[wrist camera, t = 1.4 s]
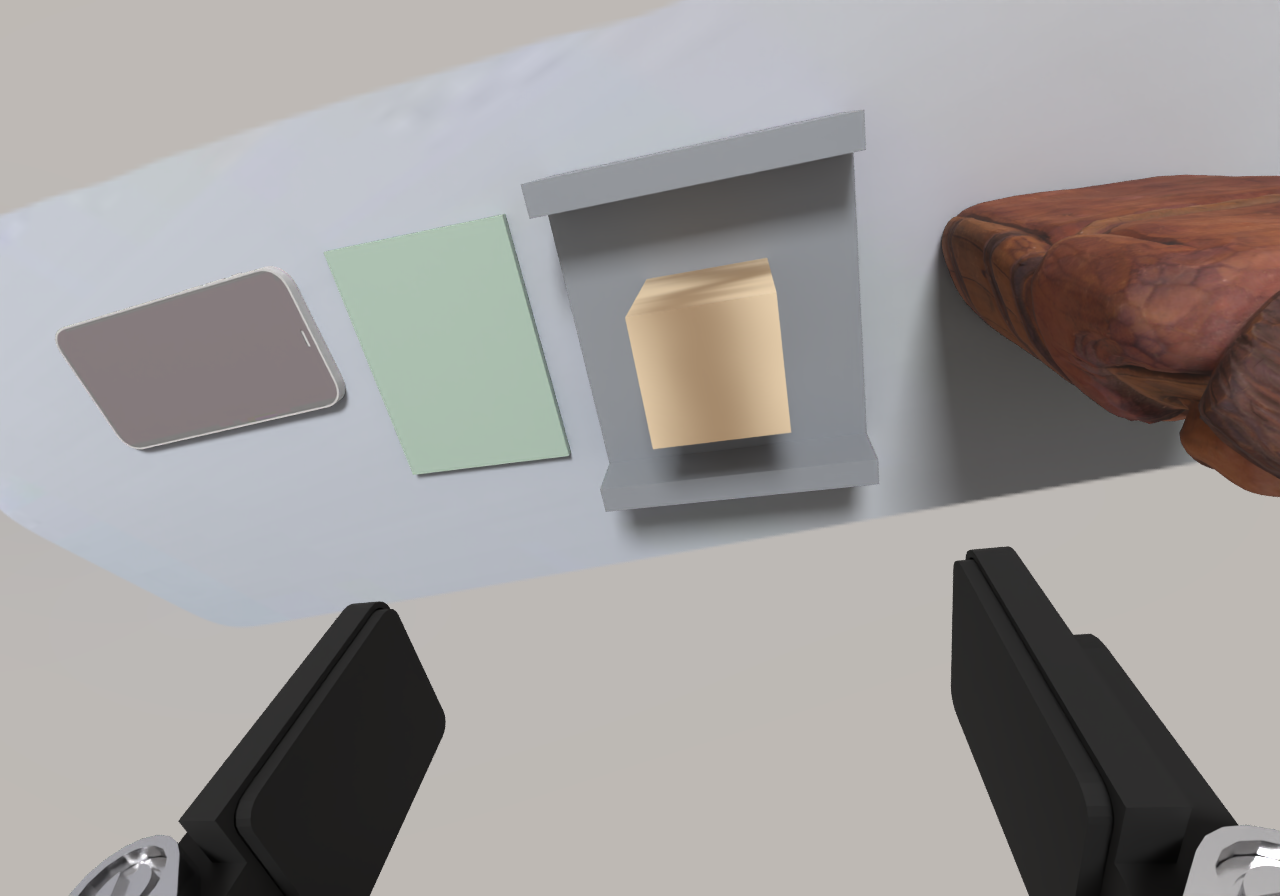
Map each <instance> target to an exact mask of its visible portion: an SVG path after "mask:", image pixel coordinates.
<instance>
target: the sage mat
mask: <svg viewBox="0 0 1280 896" xmlns="http://www.w3.org/2000/svg"><path fill="white" fill-rule="evenodd" d="M324 255H325V257H326V260H327V262H328V265H329V267H330V270H331V272H332V275H333V277H334V280H335V282H336V285H337V287H338V290H339V292H340V295H341V297H342V300H343V302H344V304H345V307H346V309H347V312H348V314H349V317H350V319H351V322H352V324H353V327H354V329H355V332H356V334H357V337H358V339H359V342H360V344H361V347H362V349H363V352H364V354H365V357H366V359H367V361H368V364H369V366H370V369H371V371H372V374H373V376H374V379H375V381H376V384H377V386H378V389H379V391H380V394H381V396H382V399H383V401H384V404H385V406H386V409H387V411H388V413H389V416H390V418H391V421H392V423H393V426H394V428H395V431H396V433H397V436H398V438H399V441H400V443H401V446H402V448H403V451H404V453H405V456H406V458H407V461H408V463H409V465H410V468H411V470H412V473H413V475H416V474H424V473H432V472H441V471H449V470H457V469H465V468H473V467H482V466H490V465H498V464H506V463H514V462H523V461H531V460H539V459H547V458H556V457H564V456H569V455H570V453H571V451H570V448H569V444H568V440H567V437H566V433H565V430H564V426H563V422H562V419H561V415H560V411H559V408H558V404H557V401H556V397H555V393H554V390H553V386H552V382H551V379H550V375H549V372H548V368H547V364H546V361H545V357H544V353H543V350H542V346H541V343H540V339H539V335H538V332H537V328H536V324H535V321H534V317H533V314H532V310H531V306H530V303H529V299H528V295H527V292H526V288H525V284H524V281H523V277H522V274H521V270H520V266H519V263H518V259H517V255H516V252H515V248H514V245H513V241H512V237H511V234H510V230H509V226H508V223H507V219H506V216H505V214H503V215H498V216H493V217H489V218H484V219H479V220H474V221H470V222H465V223H460V224H455V225H450V226H446V227H441V228H436V229H431V230H426V231H422V232H417V233H412V234H407V235H402V236H398V237H393V238H388V239H383V240H378V241H374V242H369V243H364V244H359V245H355V246H350V247H345V248H340V249H335V250H331V251H327V252H324Z"/></svg>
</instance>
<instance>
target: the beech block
mask: <svg viewBox="0 0 1280 896" xmlns="http://www.w3.org/2000/svg"><path fill="white" fill-rule="evenodd" d="M625 320H626V324H627V329H628V334H629V338H630V343H631V348H632V353H633V357H634V362H635V367H636V371H637V376H638V381H639V386H640V390H641V395H642V400H643V404H644V409H645V414H646V419H647V423H648V428H649V433H650V437H651V442H652V447H653V449H659V448H667V447H676V446H684V445H692V444H700V443H709V442H717V441H725V440H734V439H742V438H750V437H758V436H767V435H775V434H783V433H791V426H790V416H789V407H788V397H787V388H786V378H785V369H784V359H783V350H782V340H781V330H780V321H779V311H778V302H777V292H776V289H775V285H774V281H773V278H772V274H771V270H770V266H769V263H768V259H767V258H763V259H757V260H752V261H746V262H740V263H735V264H729V265H724V266H718V267H712V268H707V269H701V270H695V271H690V272H684V273H678V274H673V275H667V276H661V277H656V278H650V279H646V281H645V283H644V285H643V286H642V288H641V290H640V292H639V294H638V295H637V297H636V299H635V301H634V303H633V304H632V306H631V308H630V310H629V312H628V313H627V315H626V317H625Z"/></svg>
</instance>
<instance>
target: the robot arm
mask: <svg viewBox="0 0 1280 896" xmlns="http://www.w3.org/2000/svg"><path fill="white" fill-rule="evenodd" d="M951 694H952V700H953V705H954V708H955V711H956V714H957V717H958V719H959V722H960V724H961V727H962V729H963V732H964V734H965V736H966V739H967V742H968V744H969V747H970V749H971V752H972V754H973V757H974V759H975V762H976V764H977V767H978V769H979V772H980V774H981V777H982V779H983V782H984V784H985V786H986V789H987V792H988V794H989V797H990V799H991V802H992V804H993V806H994V809H995V812H996V814H997V817H998V819H999V822H1000V824H1001V827H1002V829H1003V832H1004V834H1005V837H1006V839H1007V841H1008V844H1009V847H1010V849H1011V851H1012V854H1013V856H1014V859H1015V862H1016V864H1017V866H1018V869H1019V871H1020V874H1021V877H1022V879H1023V882H1024V884H1025V887H1026V889H1027V892H1028V894H1029V896H1280V831H1278V830H1275V829H1268V828H1263V827H1257V826H1250V825H1240V826H1239V825H1238V824H1237V823H1236V821H1235V820H1234V819H1233V817H1232V816H1231V814H1230V813H1229V812H1228V810H1227V809H1226V808H1225V807H1224V805H1223V804H1222V803H1221V801H1220V800H1219V798H1218V797H1217V796H1216V795H1215V793H1214V792H1213V790H1212V789H1211V787H1210V786H1209V785H1208V783H1207V782H1206V781H1205V779H1204V778H1203V777H1202V775H1201V774H1200V773H1199V771H1198V770H1197V769H1196V767H1195V766H1194V765H1193V763H1192V762H1191V761H1190V759H1189V758H1188V756H1187V755H1186V754H1185V752H1184V751H1183V750H1182V748H1181V747H1180V746H1179V745H1178V743H1177V742H1176V740H1175V739H1174V738H1173V736H1172V735H1171V734H1170V732H1169V731H1168V730H1167V728H1166V727H1165V725H1164V724H1163V723H1162V722H1161V720H1160V719H1159V718H1158V716H1157V715H1156V713H1155V712H1154V711H1153V709H1152V708H1151V707H1150V705H1149V704H1148V702H1147V701H1146V700H1145V699H1144V697H1143V696H1142V694H1141V693H1140V692H1139V690H1138V689H1137V688H1136V686H1135V685H1134V684H1133V682H1132V681H1131V680H1130V678H1129V677H1128V676H1127V674H1126V673H1125V672H1124V670H1123V669H1122V667H1121V666H1120V665H1119V663H1118V662H1117V661H1116V659H1115V658H1114V657H1113V656H1112V654H1111V653H1110V651H1109V650H1108V649H1107V647H1106V646H1105V645H1104V644H1103V643H1102V642H1101V641H1100V640H1099V639H1098V638H1097V637H1095V636H1094V635H1092V634H1081V635H1073V634H1072V633H1071V631H1070V630H1069V628H1068V627H1067V625H1066V624H1065V622H1064V621H1063V619H1062V618H1061V617H1060V615H1059V614H1058V612H1057V611H1056V609H1055V608H1054V607H1053V605H1052V604H1051V602H1050V601H1049V599H1048V598H1047V596H1046V595H1045V594H1044V592H1043V591H1042V589H1041V588H1040V586H1039V585H1038V584H1037V582H1036V581H1035V579H1034V578H1033V576H1032V575H1031V574H1030V572H1029V570H1028V569H1027V568H1026V566H1025V565H1024V563H1023V562H1022V560H1021V559H1020V557H1019V556H1018V555H1017V553H1016V552H1015V551H1014V550H1013V549H1012V548H1011V547H997V548H986V549H974V550H969V551H967V554H966V560H961V561H955V563H954V569H953V614H952V662H951ZM444 730H445V715H444V712H443V709H442V707H441V705H440V703H439V701H438V699H437V696H436V695H435V692H434V690H433V688H432V686H431V684H430V682H429V679H428V678H427V675H426V673H425V671H424V669H423V667H422V665H421V662H420V660H419V658H418V656H417V654H416V652H415V650H414V647H413V645H412V643H411V641H410V639H409V637H408V635H407V632H406V630H405V628H404V626H403V624H402V622H401V619H400V617H399V615H398V614H397V612H396V611H395V610H393V609H390V608H389V606H388V605H387V604H386V603H384V602H368V603H357V604H351V605H349V606H347V607H346V608H345V609H344V610H343V611H342V613H341V614H340V616H339V617H338V618H337V619H336V620H335V622H334V623H333V624H332V625H331V627H330V628H329V629H328V631H327V632H326V633H325V634H324V636H323V637H322V638H321V640H320V641H319V642H318V643H317V645H316V646H315V647H314V648H313V650H312V651H311V652H310V654H309V655H308V656H307V657H306V659H305V660H304V661H303V663H302V664H301V665H300V667H299V668H298V669H297V670H296V671H295V673H294V674H293V675H292V677H291V678H290V679H289V680H288V682H287V683H286V684H285V686H284V687H283V688H282V689H281V691H280V692H279V693H278V695H277V696H276V697H275V698H274V700H273V701H272V702H271V703H270V705H269V706H268V707H267V708H266V710H265V711H264V712H263V714H262V715H261V716H260V717H259V719H258V720H257V721H256V723H255V724H254V725H253V726H252V728H251V729H250V730H249V732H248V733H247V734H246V735H245V737H244V738H243V739H242V740H241V742H240V743H239V744H238V746H237V747H236V748H235V749H234V751H233V752H232V753H231V755H230V756H229V757H228V758H227V760H226V761H225V762H224V763H223V765H222V766H221V767H220V768H219V770H218V771H217V772H216V774H215V775H214V776H213V777H212V779H211V780H210V781H209V783H208V784H207V785H206V786H205V788H204V789H203V790H202V791H201V793H200V794H199V795H198V797H197V798H196V799H195V801H194V802H193V803H192V804H191V806H190V807H189V808H188V809H187V811H186V812H185V813H184V815H183V816H182V817H181V818H180V820H179V822H180V824H181V825H182V826H183V827H184V829H185V830H186V831H187V833H186V835H185V836H184V837H183V838H182V840H181V841H180V842H179V844H178V842H176V841H175V840H174V839H173V838H172V837H170V836H164V835H155V836H151V837H147V838H143V839H140V840H138V841H136V842H134V843H132V844H130V845H127V846H125V847H123V848H122V849H121V850H119V851H118V852H116V853H114V854H113V855H111V856H110V857H108V858H107V859H105V860H104V861H103V862H102V863H100V864H99V865H98V866H97V867H96V868H95V869H93V870H92V871H91V872H90V873H89V874H88V875H87V876H86V877H85V878H84V879H83V880H82V881H81V882H80V883H79V884H78V885H77V886H76V888H75V889H74V890H73V891H72V892H71V893H70V895H69V896H370V894H371V891H372V889H373V887H374V885H375V883H376V880H377V879H378V876H379V874H380V872H381V870H382V867H383V865H384V863H385V861H386V859H387V857H388V854H389V852H390V850H391V848H392V846H393V844H394V841H395V839H396V837H397V835H398V833H399V830H400V828H401V826H402V824H403V822H404V820H405V817H406V815H407V813H408V811H409V809H410V806H411V804H412V802H413V800H414V798H415V795H416V793H417V791H418V789H419V787H420V784H421V782H422V780H423V778H424V776H425V774H426V772H427V769H428V767H429V765H430V763H431V761H432V758H433V756H434V754H435V752H436V750H437V747H438V745H439V743H440V741H441V739H442V737H443V734H444Z"/></svg>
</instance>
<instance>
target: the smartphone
mask: <svg viewBox="0 0 1280 896" xmlns="http://www.w3.org/2000/svg"><path fill="white" fill-rule="evenodd" d="M55 340H56V344H57V347H58V349H59V351H60V353H61V354H62V356H63V357H64V359H65V360H66V362H67V363H68V364H69V366H70V367H71V369H72V370H73V372H74V373H75V375H76V376H77V378H78V379H79V381H80V382H81V384H82V385H83V387H84V388H85V389H86V391H87V392H88V394H89V395H90V397H91V398H92V400H93V401H94V403H95V404H96V406H97V407H98V409H99V410H100V412H101V413H102V415H103V416H104V417H105V419H106V420H107V422H108V423H109V425H110V426H111V428H112V429H113V431H114V432H115V434H116V435H117V436H118V438H119V439H120V440H121V441H122V442H123V443H125V444H126V445H128V446H130V447H132V448H135V449H146V448H150V447H155V446H159V445H164V444H168V443H173V442H177V441H181V440H186V439H190V438H195V437H199V436H203V435H208V434H212V433H217V432H221V431H225V430H230V429H234V428H239V427H243V426H247V425H252V424H256V423H261V422H265V421H270V420H274V419H278V418H283V417H287V416H292V415H296V414H300V413H305V412H309V411H314V410H318V409H322V408H327V407H330V406H332V405H334V404H335V403H337V402H338V401H340V400H341V399H342V398H343V396H344V394H345V390H346V388H345V383H344V380H343V377H342V375H341V373H340V371H339V369H338V367H337V365H336V363H335V361H334V359H333V357H332V355H331V353H330V351H329V349H328V347H327V345H326V343H325V341H324V339H323V337H322V335H321V333H320V331H319V329H318V327H317V325H316V323H315V321H314V319H313V317H312V315H311V313H310V311H309V309H308V307H307V305H306V303H305V301H304V299H303V297H302V295H301V293H300V291H299V289H298V287H297V285H296V283H295V282H294V280H293V279H292V277H291V276H290V275H289V274H288V273H287V272H285V271H284V270H282V269H280V268H278V267H273V266H268V267H263V268H260V269H256V270H253V271H249V272H246V273H243V274H242V273H238V274H235V275H232V277H229V278H224V279H220V280H217V281H214V282H210V283H207V284H205V285H200V286H197V287H194V288H190V289H187V290H184V291H182V292H179V293H176V294H173V295H169V296H166V297H163V298H159V299H156V300H153V301H149V302H146V303H143V304H139V305H136V306H133V307H129V308H126V309H123V310H119V311H116V312H113V313H109V314H106V315H103V316H99V317H96V318H93V319H89V320H86V321H83V322H79V323H76V324H73V325H69V326H66V327H63V328H61V329H59V330H58V331H57V333H56V336H55Z"/></svg>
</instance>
